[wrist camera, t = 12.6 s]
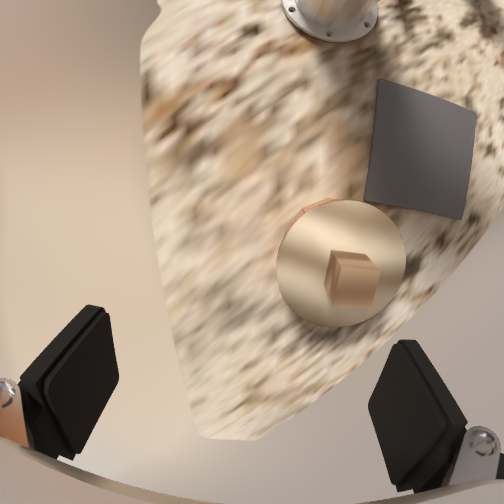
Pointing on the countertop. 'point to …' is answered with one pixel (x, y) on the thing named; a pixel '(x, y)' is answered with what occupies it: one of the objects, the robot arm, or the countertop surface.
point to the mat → (420, 151)
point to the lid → (340, 263)
